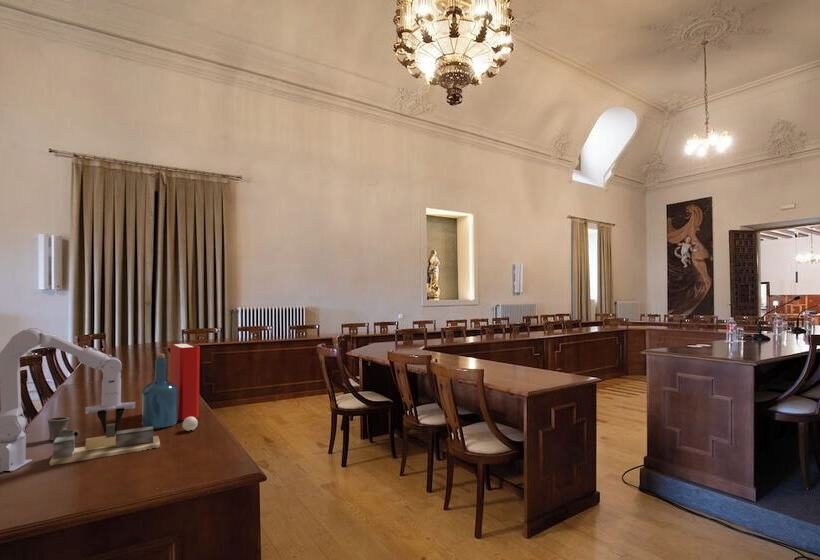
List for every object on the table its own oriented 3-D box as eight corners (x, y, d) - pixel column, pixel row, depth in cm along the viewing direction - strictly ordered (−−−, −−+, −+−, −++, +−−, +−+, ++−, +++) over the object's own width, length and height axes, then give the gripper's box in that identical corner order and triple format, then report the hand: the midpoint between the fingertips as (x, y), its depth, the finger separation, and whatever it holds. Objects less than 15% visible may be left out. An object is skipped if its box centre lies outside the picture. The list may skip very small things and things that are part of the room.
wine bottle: (169, 419, 196) (170, 351, 197) (183, 424, 187) (184, 353, 189) (135, 426, 185) (136, 354, 186) (148, 432, 177) (149, 357, 178)
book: (169, 409, 214) (170, 342, 215) (187, 406, 219) (188, 341, 220) (179, 421, 192) (180, 347, 193) (199, 418, 197) (200, 346, 198)
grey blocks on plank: (49, 465, 142) (50, 445, 142) (55, 454, 152) (55, 435, 153) (160, 447, 159) (160, 429, 159) (158, 438, 169) (158, 421, 169)
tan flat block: (85, 449, 151) (85, 429, 151) (86, 447, 153) (86, 426, 154) (151, 439, 161) (151, 420, 161) (151, 437, 164) (151, 418, 164)
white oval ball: (180, 433, 175) (180, 419, 176) (184, 429, 181) (184, 415, 181) (201, 431, 178) (201, 417, 178) (204, 427, 183) (204, 414, 183)
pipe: (68, 443, 164) (69, 421, 164) (41, 441, 167) (42, 419, 167) (84, 438, 170) (84, 417, 170) (57, 436, 173) (58, 415, 173)
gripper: (85, 397, 149) (84, 437, 149) (135, 392, 157) (134, 430, 156) (86, 393, 155) (85, 432, 155) (135, 388, 163) (134, 425, 162)
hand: (110, 431), depth 156 cm, fingers closed on tan flat block, 2 cm apart
